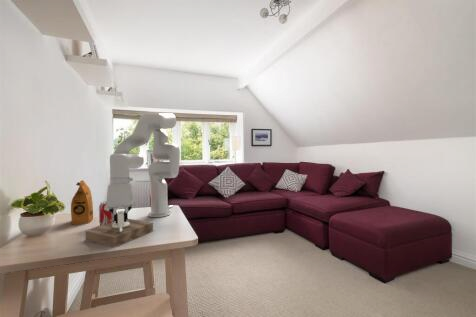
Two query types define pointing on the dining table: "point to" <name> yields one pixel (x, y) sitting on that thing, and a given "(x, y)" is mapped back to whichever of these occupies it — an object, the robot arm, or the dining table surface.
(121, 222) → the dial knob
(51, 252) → the dining table surface
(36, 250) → the dining table surface
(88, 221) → the coffee package
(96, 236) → the flat wooden block
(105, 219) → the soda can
